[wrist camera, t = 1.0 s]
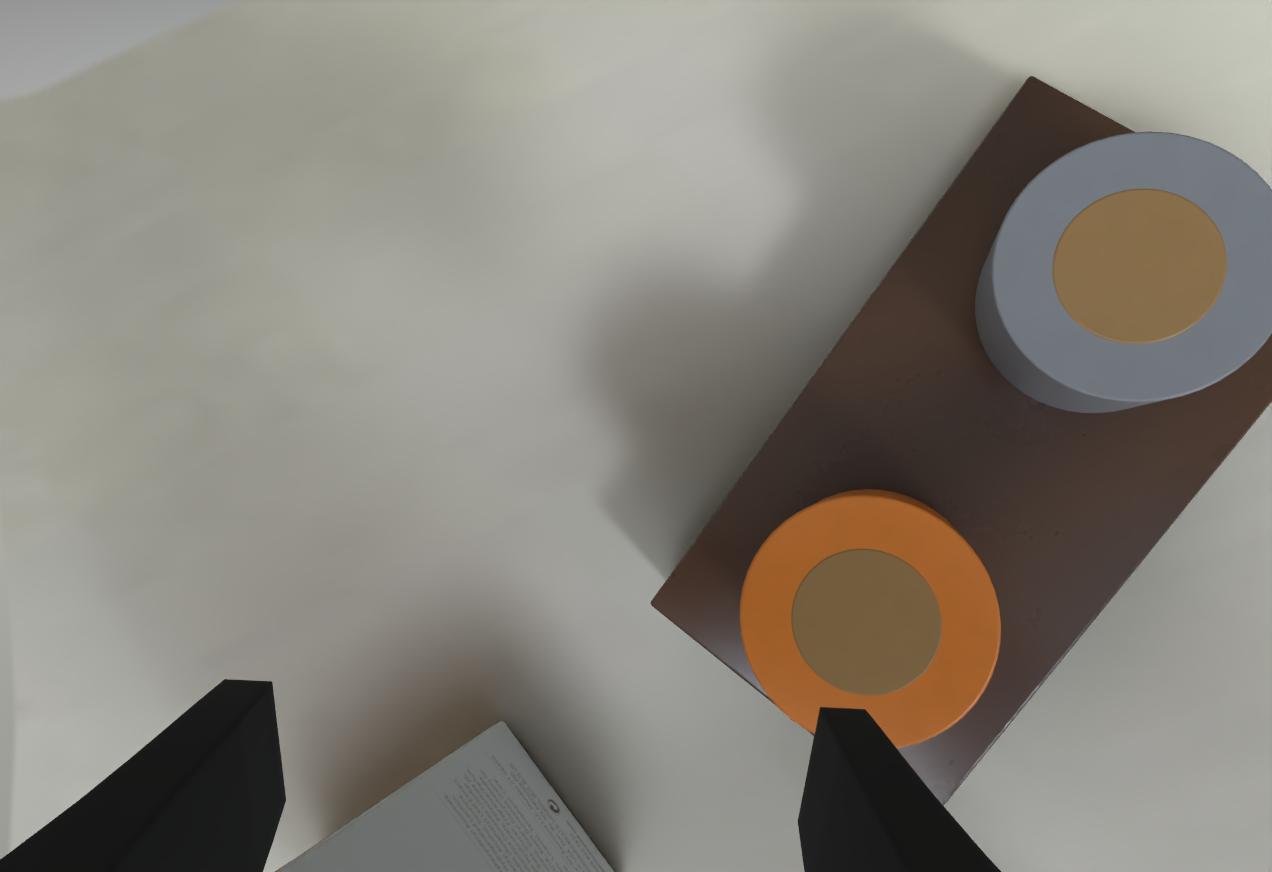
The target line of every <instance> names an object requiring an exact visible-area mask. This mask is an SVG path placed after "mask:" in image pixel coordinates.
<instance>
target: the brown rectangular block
mask: <svg viewBox="0 0 1272 872" xmlns="http://www.w3.org/2000/svg"><path fill="white" fill-rule="evenodd" d="M1128 133H1135V132H1133V131H1132V130H1130V129H1128V128H1126V127H1124V126H1122V125H1121V124H1119V123H1117V122H1115V121H1113V120H1112V119H1110V118H1108V117H1106V116H1104V115H1102V114H1101V113H1099V112H1097V111H1095V110H1093V109H1091V108H1090V107H1088V106H1086V105H1084V104H1082V103H1080V102H1079V101H1077V100H1075V99H1073V98H1071V97H1069V96H1068V95H1066V94H1064V93H1062V92H1060V91H1058V90H1057V89H1055V88H1053V87H1051V86H1049V85H1047V84H1046V83H1044V82H1042V81H1040V80H1038V79H1036V78H1035V77H1033V76H1030V77H1029V78H1028V79H1027V80H1026V81H1025V83H1024V84H1023V86H1022V87H1021V88H1020V90H1019V91H1018V93H1017V94H1016V95H1015V97H1014V98H1013V100H1012V101H1011V102H1010V104H1009V105H1008V106H1007V108H1006V109H1005V111H1004V112H1003V113H1002V115H1001V116H1000V118H999V119H998V120H997V122H996V123H995V125H994V126H993V127H992V129H991V130H990V131H989V133H988V134H987V136H986V137H985V138H984V140H983V141H982V143H981V144H980V145H979V147H978V148H977V150H976V151H975V152H974V154H973V155H972V156H971V158H970V159H969V161H968V162H967V163H966V165H965V166H964V168H963V169H962V170H961V172H960V173H959V175H958V176H957V177H956V179H955V180H954V181H953V183H952V184H951V186H950V187H949V188H948V190H947V191H946V193H945V194H944V195H943V197H942V198H941V200H940V201H939V202H938V204H937V205H936V206H935V208H934V209H933V211H932V212H931V213H930V215H929V216H928V218H927V219H926V220H925V222H924V223H923V225H922V226H921V227H920V229H919V230H918V231H917V233H916V234H915V236H914V237H913V238H912V240H911V241H910V243H909V244H908V245H907V247H906V248H905V250H904V251H903V252H902V254H901V255H900V256H899V258H898V259H897V261H896V262H895V263H894V265H893V266H892V268H891V269H890V270H889V272H888V273H887V275H886V276H885V277H884V279H883V280H882V281H881V283H880V284H879V286H878V287H877V288H876V290H875V291H874V293H873V294H872V295H871V297H870V298H869V300H868V301H867V302H866V304H865V305H864V306H863V308H862V309H861V311H860V312H859V313H858V315H857V316H856V318H855V319H854V320H853V322H852V323H851V325H850V326H849V327H848V329H847V330H846V331H845V333H844V334H843V336H842V337H841V338H840V340H839V341H838V343H837V344H836V345H835V347H834V348H833V350H832V351H831V352H830V354H829V355H828V356H827V358H826V359H825V361H824V362H823V363H822V365H821V366H820V368H819V369H818V370H817V372H816V373H815V375H814V376H813V377H812V379H811V380H810V381H809V383H808V384H807V386H806V387H805V388H804V390H803V391H802V393H801V394H800V395H799V397H798V398H797V400H796V401H795V402H794V404H793V405H792V406H791V408H790V409H789V411H788V412H787V413H786V415H785V416H784V418H783V419H782V420H781V422H780V423H779V425H778V426H777V427H776V429H775V430H774V431H773V433H772V434H771V436H770V437H769V438H768V440H767V441H766V443H765V444H764V445H763V447H762V448H761V450H760V451H759V452H758V454H757V455H756V456H755V458H754V459H753V461H752V462H751V463H750V465H749V466H748V468H747V469H746V470H745V472H744V473H743V475H742V476H741V477H740V479H739V480H738V481H737V483H736V484H735V486H734V487H733V488H732V490H731V491H730V493H729V494H728V495H727V497H726V498H725V500H724V501H723V502H722V504H721V505H720V506H719V508H718V509H717V511H716V512H715V513H714V515H713V516H712V518H711V519H710V520H709V522H708V523H707V525H706V526H705V527H704V529H703V530H702V531H701V533H700V534H699V536H698V537H697V538H696V540H695V541H694V543H693V544H692V545H691V547H690V548H689V550H688V551H687V552H686V554H685V555H684V556H683V558H682V559H681V561H680V562H679V563H678V565H677V566H676V568H675V569H674V570H673V572H672V573H671V575H670V576H669V577H668V579H667V580H666V581H665V583H664V584H663V586H662V587H661V588H660V590H659V591H658V593H657V594H656V595H655V597H654V598H653V600H652V601H651V605H652V606H653V607H654V608H655V609H657V610H658V611H659V612H660V613H662V614H663V615H664V616H665V617H667V618H668V619H669V620H670V621H672V622H673V623H674V624H675V625H676V626H678V627H679V628H680V629H681V630H683V631H684V632H685V633H686V634H688V635H689V636H690V637H691V638H693V639H694V640H695V641H696V642H698V643H699V644H700V645H701V646H703V647H704V648H705V649H706V650H708V651H709V652H710V653H711V654H713V655H714V656H715V657H716V658H718V659H719V660H720V661H721V662H723V663H724V664H725V665H726V666H728V667H729V668H730V669H731V670H732V671H734V672H735V673H736V674H737V675H739V676H740V677H741V678H742V679H744V680H745V681H746V682H747V683H749V684H750V685H751V686H752V687H754V688H755V689H756V690H757V691H759V692H760V693H761V694H762V695H764V696H765V697H766V698H767V699H769V700H770V701H771V702H772V703H774V702H773V701H772V700H771V699H770V697H769V696H768V695H767V694H766V692H765V691H764V689H763V688H762V686H761V685H760V683H759V682H758V680H757V678H756V676H755V675H754V673H753V671H752V669H751V667H750V664H749V661H748V659H747V656H746V653H745V650H744V646H743V641H742V637H741V629H740V600H741V594H742V588H743V584H744V581H745V578H746V575H747V571H748V569H749V567H750V565H751V563H752V561H753V558H754V557H755V555H756V553H757V552H758V550H759V549H760V547H761V546H762V544H763V543H764V542H765V541H766V539H767V538H768V537H769V536H770V535H771V533H772V532H773V531H774V530H775V529H777V528H778V527H779V526H780V525H781V524H782V523H783V522H784V521H786V520H787V519H789V518H790V517H791V516H793V515H794V514H796V513H797V512H799V511H801V510H803V509H805V508H807V507H809V506H811V505H813V504H815V503H817V502H819V501H821V500H823V499H825V498H827V497H830V496H833V495H835V494H838V493H842V492H847V491H851V490H861V489H877V490H886V491H892V492H896V493H900V494H903V495H906V496H909V497H912V498H914V499H916V500H918V501H920V502H923V503H924V504H926V505H927V506H929V507H931V508H932V509H934V510H935V511H937V512H938V513H939V514H940V515H942V516H943V517H944V518H945V519H947V520H948V521H949V523H950V524H951V525H952V526H953V527H954V528H955V529H956V530H957V531H958V532H959V533H960V534H961V536H962V537H963V538H964V539H965V540H966V541H967V542H968V544H969V545H970V546H971V548H972V549H973V550H974V552H975V553H976V554H977V556H978V557H979V558H980V560H981V562H982V564H983V565H984V567H985V569H986V571H987V572H988V574H989V577H990V579H991V582H992V584H993V587H994V589H995V593H996V597H997V601H998V605H999V611H1000V620H1001V640H1000V647H999V653H998V659H997V662H996V665H995V668H994V671H993V674H992V676H991V678H990V681H989V683H988V685H987V687H986V689H985V691H984V692H983V693H982V695H981V696H980V698H979V699H978V701H977V702H976V704H975V705H974V706H973V707H972V708H971V709H970V710H969V711H968V712H967V713H966V715H965V716H964V717H962V718H961V719H960V720H959V721H958V722H956V723H955V724H954V725H953V726H951V727H950V728H948V729H947V730H945V731H943V732H942V733H940V734H938V735H937V736H935V737H932V738H930V739H928V740H925V741H923V742H921V743H917V744H913V745H910V746H906V747H901V748H897V749H898V751H899V752H900V753H901V754H902V756H903V757H904V758H905V759H906V761H907V762H908V763H909V764H910V766H911V767H912V768H913V769H914V771H915V772H916V773H917V774H918V776H919V777H920V778H921V779H922V781H923V782H924V783H925V784H926V786H927V787H928V788H929V789H930V791H931V792H932V793H933V794H934V795H935V797H936V798H937V799H938V800H939V801H940V803H941V804H942V805H943V806H944V804H945V803H946V802H947V801H948V800H949V798H950V797H951V796H952V795H953V793H954V792H955V791H956V790H957V788H958V787H959V786H960V785H961V784H962V782H963V781H964V780H965V779H966V777H967V776H968V775H969V774H970V772H971V771H972V770H973V769H974V768H975V766H976V765H977V764H978V763H979V761H980V760H981V759H982V758H983V756H984V755H985V754H986V753H987V752H988V750H989V749H990V748H991V747H992V745H993V744H994V743H995V742H996V740H997V739H998V738H999V737H1000V736H1001V734H1002V733H1003V732H1004V731H1005V729H1006V728H1007V727H1008V726H1009V724H1010V723H1011V722H1012V721H1013V720H1014V718H1015V717H1016V716H1017V715H1018V713H1019V712H1020V711H1021V710H1022V708H1023V707H1024V706H1025V705H1026V704H1027V702H1028V701H1029V700H1030V699H1031V697H1032V696H1033V695H1034V694H1035V692H1036V691H1037V690H1038V689H1039V688H1040V686H1041V685H1042V684H1043V683H1044V681H1045V680H1046V679H1047V678H1048V676H1049V675H1050V674H1051V673H1052V672H1053V670H1054V669H1055V668H1056V667H1057V665H1058V664H1059V663H1060V662H1061V660H1062V659H1063V658H1064V657H1065V656H1066V654H1067V653H1068V652H1069V651H1070V649H1071V648H1072V647H1073V646H1074V644H1075V643H1076V642H1077V641H1078V639H1079V638H1080V637H1081V636H1082V635H1083V633H1084V632H1085V631H1086V630H1087V628H1088V627H1089V626H1090V625H1091V623H1092V622H1093V621H1094V620H1095V619H1096V617H1097V616H1098V615H1099V614H1100V612H1101V611H1102V610H1103V609H1104V607H1105V606H1106V605H1107V604H1108V603H1109V601H1110V600H1111V599H1112V598H1113V596H1114V595H1115V594H1116V593H1117V591H1118V590H1119V589H1120V588H1121V587H1122V585H1123V584H1124V583H1125V582H1126V580H1127V579H1128V578H1129V577H1130V575H1131V574H1132V573H1133V572H1134V571H1135V569H1136V568H1137V567H1138V566H1139V564H1140V563H1141V562H1142V561H1143V559H1144V558H1145V557H1146V556H1147V555H1148V553H1149V552H1150V551H1151V550H1152V548H1153V547H1154V546H1155V545H1156V543H1157V542H1158V541H1159V540H1160V539H1161V537H1162V536H1163V535H1164V534H1165V532H1166V531H1167V530H1168V529H1169V527H1170V526H1171V525H1172V524H1173V523H1174V521H1175V520H1176V519H1177V518H1178V516H1179V515H1180V514H1181V513H1182V511H1183V510H1184V509H1185V508H1186V507H1187V505H1188V504H1189V503H1190V502H1191V500H1192V499H1193V498H1194V497H1195V495H1196V494H1197V493H1198V492H1199V491H1200V489H1201V488H1202V487H1203V486H1204V484H1205V483H1206V482H1207V481H1208V479H1209V478H1210V477H1211V476H1212V475H1213V473H1214V472H1215V471H1216V470H1217V468H1218V467H1219V466H1220V465H1221V463H1222V462H1223V461H1224V460H1225V459H1226V457H1227V456H1228V455H1229V454H1230V452H1231V451H1232V450H1233V449H1234V447H1235V446H1236V445H1237V444H1238V443H1239V441H1240V440H1241V439H1242V438H1243V436H1244V435H1245V434H1246V433H1247V431H1248V430H1249V429H1250V428H1251V427H1252V425H1253V424H1254V423H1255V422H1256V420H1257V419H1258V418H1259V417H1260V415H1261V414H1262V413H1263V412H1264V410H1265V409H1266V408H1267V407H1268V406H1269V404H1270V403H1271V402H1272V334H1271V335H1270V336H1269V338H1268V339H1267V341H1266V342H1265V343H1264V344H1263V345H1262V347H1261V348H1260V349H1259V350H1258V351H1257V352H1256V353H1255V354H1254V355H1253V356H1252V357H1251V358H1250V359H1249V360H1248V361H1246V362H1245V363H1244V364H1243V365H1242V366H1241V367H1239V368H1238V369H1237V370H1235V371H1234V372H1232V373H1231V374H1229V375H1228V376H1226V377H1225V378H1223V379H1222V380H1220V381H1218V382H1216V383H1214V384H1212V385H1210V386H1208V387H1206V388H1204V389H1201V390H1199V391H1196V392H1193V393H1190V394H1187V395H1184V396H1180V397H1176V398H1172V399H1167V400H1163V401H1159V402H1154V403H1150V404H1146V405H1141V406H1137V407H1133V408H1128V409H1124V410H1119V411H1115V412H1105V413H1079V412H1072V411H1066V410H1062V409H1058V408H1054V407H1051V406H1048V405H1046V404H1043V403H1041V402H1038V401H1036V400H1034V399H1033V398H1031V397H1029V396H1027V395H1025V394H1024V393H1022V392H1021V391H1020V390H1018V389H1017V388H1016V387H1014V386H1013V385H1012V384H1011V383H1009V382H1008V381H1007V380H1006V379H1005V378H1004V377H1003V376H1002V375H1001V374H1000V372H999V371H998V370H997V369H996V367H995V366H994V365H993V363H992V362H991V360H990V358H989V357H988V355H987V353H986V352H985V349H984V347H983V345H982V342H981V340H980V337H979V333H978V329H977V325H976V317H975V295H976V290H977V284H978V280H979V277H980V274H981V271H982V268H983V266H984V263H985V261H986V259H987V257H988V254H989V252H990V250H991V248H992V245H993V243H994V241H995V238H996V236H997V234H998V232H999V229H1000V227H1001V225H1002V223H1003V221H1004V219H1005V216H1006V214H1007V212H1008V211H1009V209H1010V207H1011V206H1012V204H1013V203H1014V201H1015V200H1016V198H1017V197H1018V195H1019V194H1020V193H1021V192H1022V191H1023V189H1024V188H1025V187H1026V186H1027V185H1028V183H1029V182H1030V181H1032V180H1033V179H1034V178H1035V177H1036V176H1037V175H1038V174H1039V173H1040V172H1041V171H1042V170H1043V169H1045V168H1046V167H1048V166H1049V165H1050V164H1052V163H1053V162H1054V161H1056V160H1057V159H1059V158H1060V157H1062V156H1064V155H1066V154H1067V153H1069V152H1071V151H1073V150H1074V149H1077V148H1079V147H1082V146H1084V145H1086V144H1089V143H1091V142H1094V141H1097V140H1101V139H1104V138H1107V137H1111V136H1116V135H1122V134H1128ZM774 704H775V703H774ZM775 705H776V704H775ZM807 731H808V730H807ZM808 732H810V731H808ZM810 733H811V734H812V735H813V736H814V735H815V734H814V733H812V732H810Z"/></svg>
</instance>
